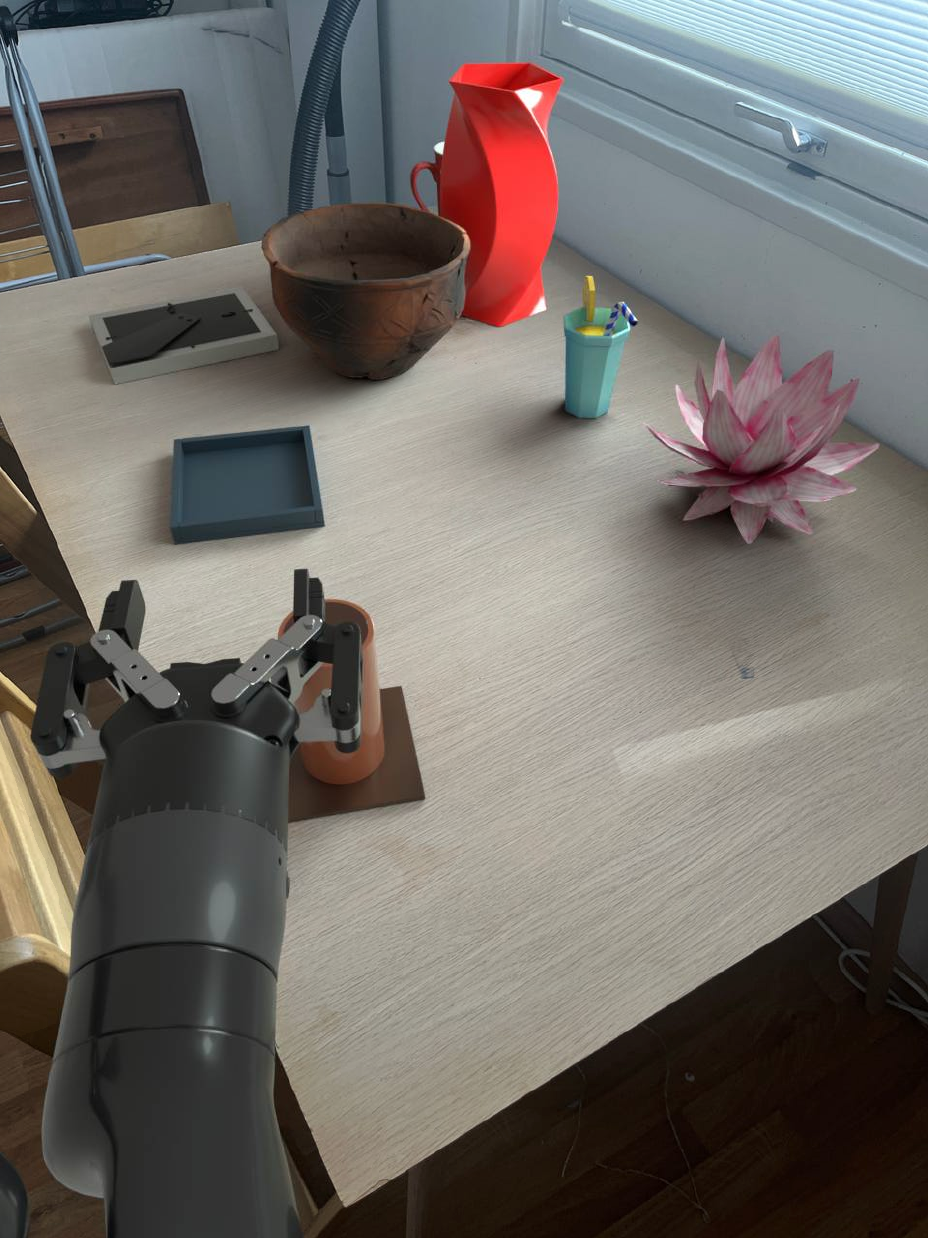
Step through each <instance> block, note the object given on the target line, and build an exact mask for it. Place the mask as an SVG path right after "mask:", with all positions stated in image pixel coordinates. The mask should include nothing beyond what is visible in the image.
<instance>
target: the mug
mask: <svg viewBox="0 0 928 1238" xmlns="http://www.w3.org/2000/svg"><path fill="white" fill-rule="evenodd" d="M444 142H445V140H443V141H440V142H438V143H436V144H435V145H434V146H433V152H434V159H435V162H430V161H427V160H426V161H425V160H423V161H419V162H417V163H415V164H414V166H413V167H412V169H411V171H410V175H409V182H410V189H411V193H412V196H413V197H414V200H415V202H416V204H417V205H418V207H419V209H421V210H425V211H428V212H431V211H430V210H429V209H428V208H427V206H426V204H424V202H423V200H422V199H421V197H420V195H419V192H418V188H417V178H418V175H419V173H420V172H421V171H423V170H425V169H426V170H428V171H429V172H430V173H431V175H432V178H433V181H434V182H435V183H436V201H437V215H438V216H440V177H441V165H442V157H443V149H444Z"/></svg>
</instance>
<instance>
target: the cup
mask: <svg viewBox="0 0 928 1238" xmlns="http://www.w3.org/2000/svg"><path fill="white" fill-rule="evenodd" d="M582 304H583V305H582V306H581V307H580V308H577V309H574V310H572V311H570V312H568V313H566V314H564V315H563V318H562V319H563V333H564V337H565V359H564V360H565V363H564V364H565V367H564V368H565V369H564V370H565V372H564V373H565V375H564V377H565V378H564V389H565V390H564V405H565V407H564V408H565V412H567V413H569V414H571V415H573V416H574V417H577V418H581V419H582V418H583V419H597V418H599V417H601V416H603V415H604V414H606V413H608V412H609V407H610V404H611V400H612V396H613V391H614V387H615V383H616V379H617V375H618V372H619V366H620V362H621V359H622V355H623V350H624V347H625V342H626V340H627V339H628V338H629V337H630V333H631V327H635V326H637V325H638V323H639V321H638V319H637V318H636V316H635V315H634V314H633V312H632V310H631V309H630V308H629V307H628V305H627V303H626V302H624V301H618V302H617V303H616V304H615V305H614V306H613V307H612V309H611V308H609V307H596V288H595V281H594V276H592V275H586V276H584V281H583V288H582Z"/></svg>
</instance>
